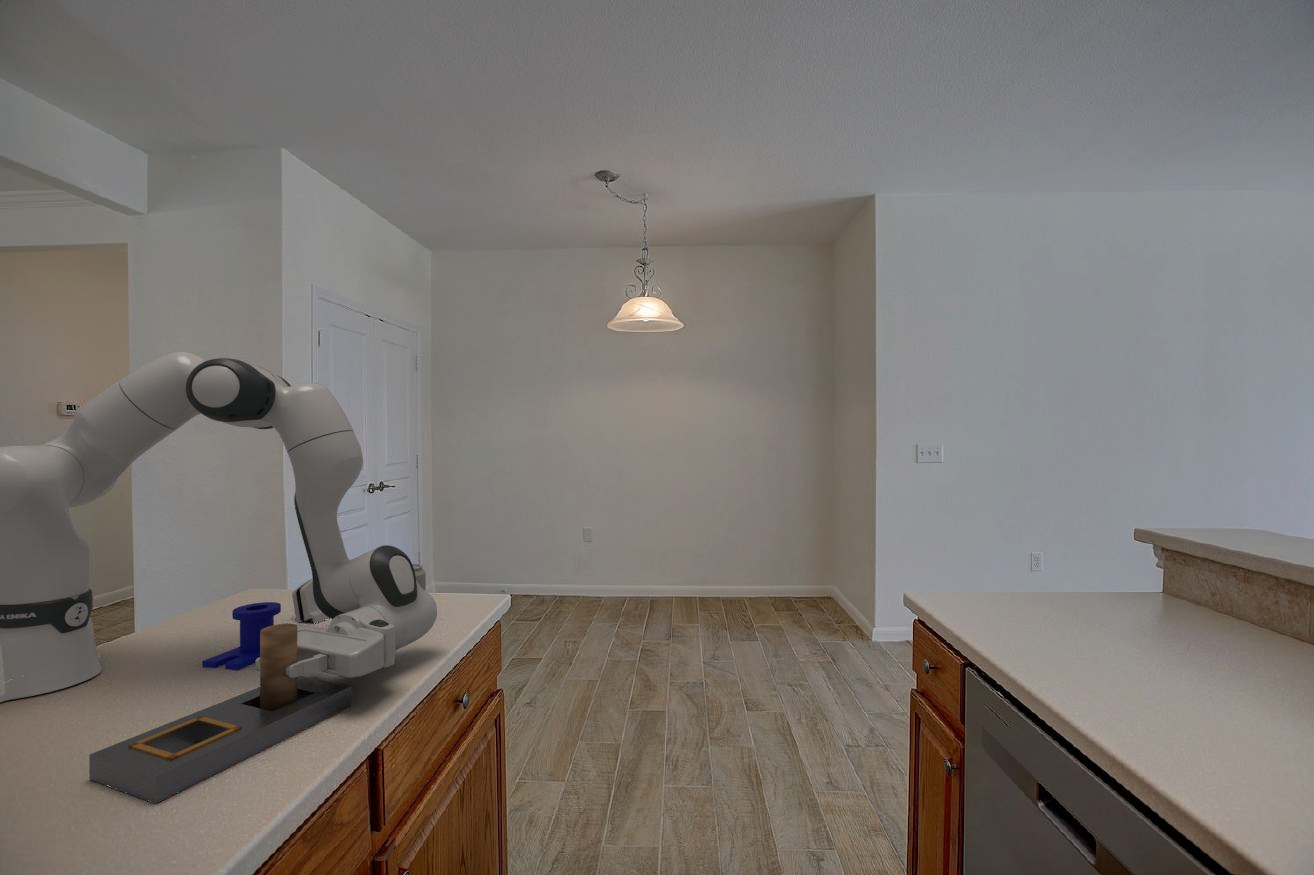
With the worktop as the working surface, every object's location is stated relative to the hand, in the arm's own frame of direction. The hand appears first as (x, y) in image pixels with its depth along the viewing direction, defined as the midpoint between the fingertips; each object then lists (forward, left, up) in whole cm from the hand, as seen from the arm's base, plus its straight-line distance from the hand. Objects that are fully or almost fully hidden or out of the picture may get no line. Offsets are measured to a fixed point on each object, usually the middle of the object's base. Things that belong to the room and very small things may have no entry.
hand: (272, 668), depth 84 cm
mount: (-21, +26, -8) cm, 34 cm away
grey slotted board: (-2, -5, -8) cm, 9 cm away
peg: (0, +1, -8) cm, 8 cm away
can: (-2, +47, -8) cm, 48 cm away
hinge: (-22, +52, -8) cm, 57 cm away
